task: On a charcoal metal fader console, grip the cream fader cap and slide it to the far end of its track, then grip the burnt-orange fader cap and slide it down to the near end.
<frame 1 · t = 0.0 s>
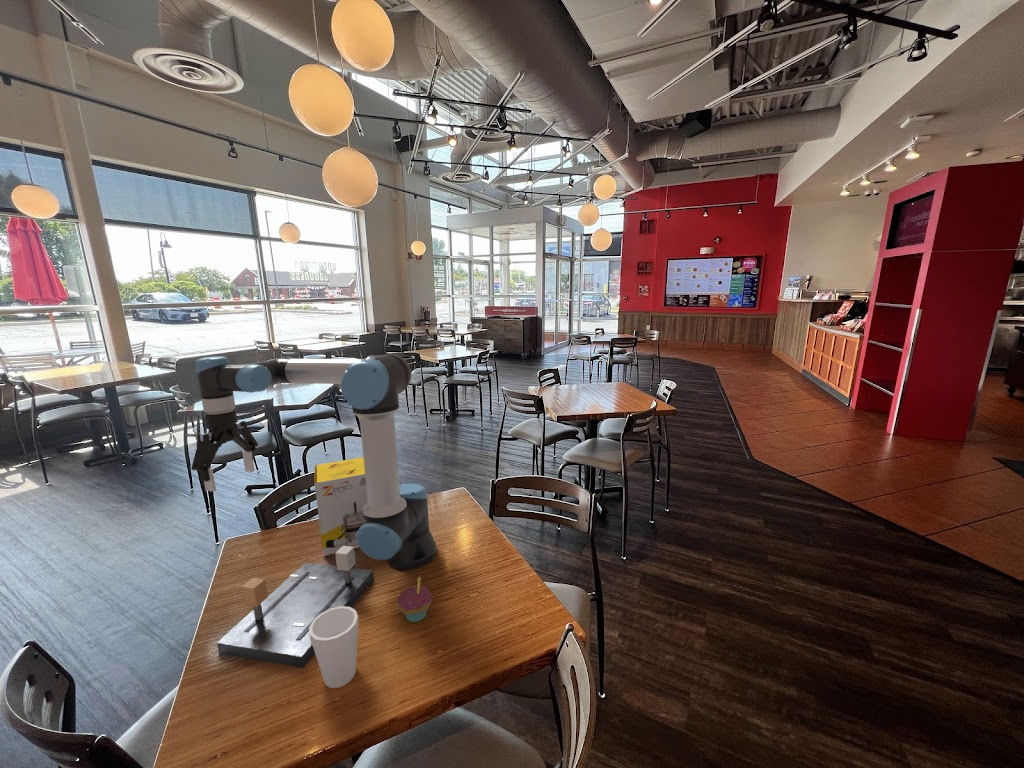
hand: (231, 480, 122), 28 cm above the table, tool pointing down, fingers open, 13 cm apart
packaging box: (349, 538, 142), on the table
fader console: (305, 612, 107), on the table
foam cup: (340, 675, 89), on the table
fader orange: (256, 600, 100), point 8 cm above the table, slide at 18.0 cm
cupcake: (416, 616, 106), on the table
fader cream: (346, 565, 113), point 8 cm above the table, slide at 2.0 cm
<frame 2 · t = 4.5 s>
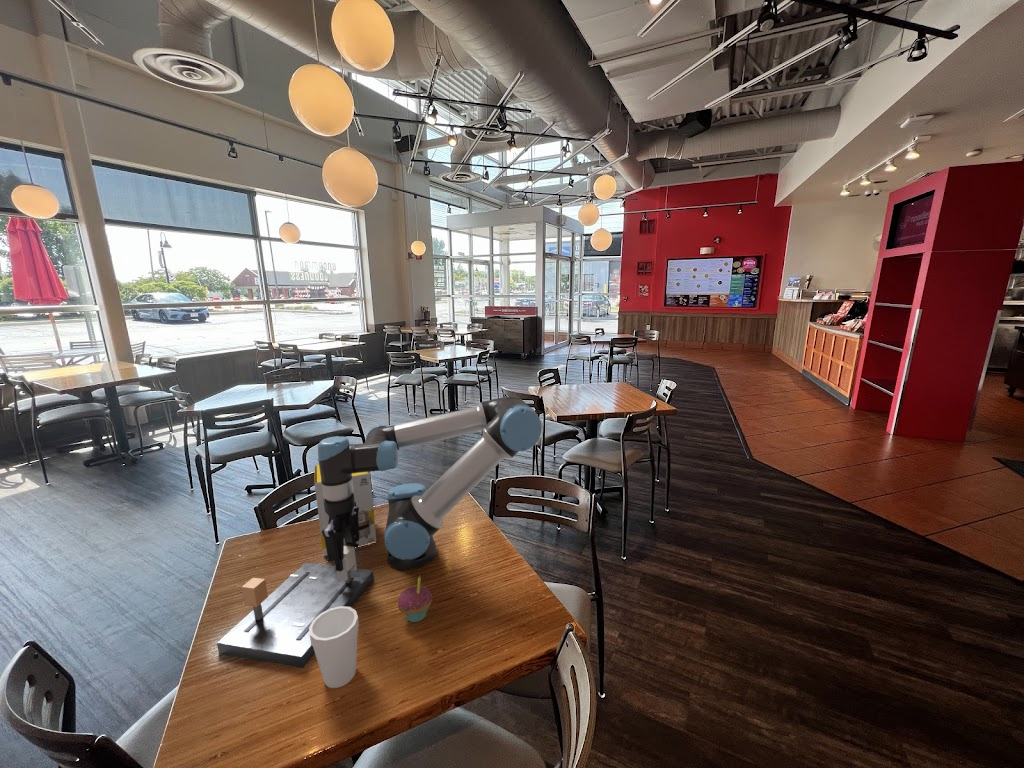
hand: (347, 574, 114), 6 cm above the table, tool pointing down, fingers closed on fader cream, 3 cm apart
fader cream: (346, 565, 113), point 8 cm above the table, slide at 2.0 cm, touching gripper
everything else where it was.
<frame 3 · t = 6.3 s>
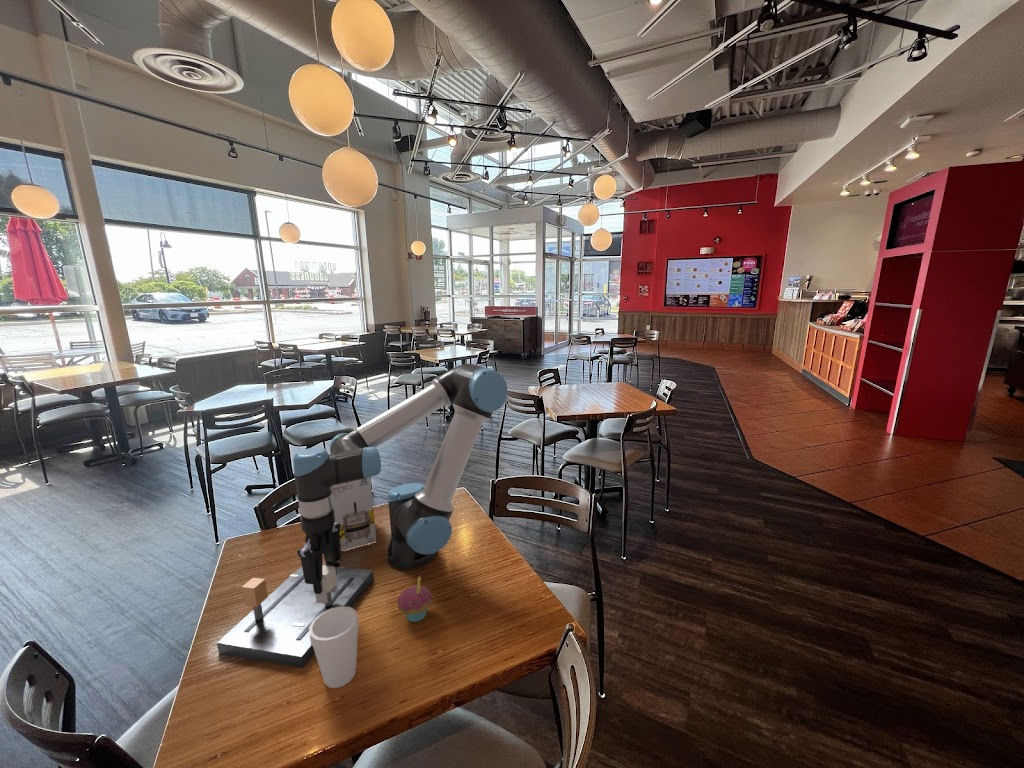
hand: (327, 596, 105), 6 cm above the table, tool pointing down, fingers closed on fader cream, 3 cm apart
fader cream: (326, 587, 105), point 8 cm above the table, slide at 10.8 cm, touching gripper
everything else where it was.
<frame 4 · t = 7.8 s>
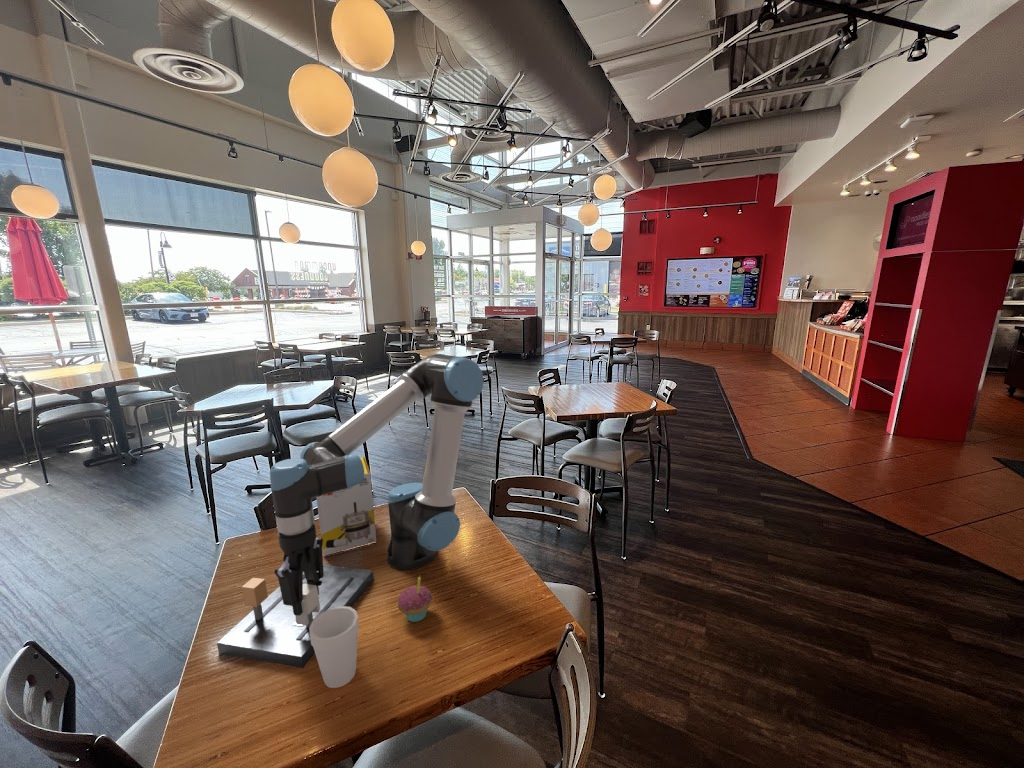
hand: (308, 616, 98), 6 cm above the table, tool pointing down, fingers closed on fader cream, 3 cm apart
fader cream: (307, 607, 98), point 8 cm above the table, slide at 17.9 cm, touching gripper
everything else where it was.
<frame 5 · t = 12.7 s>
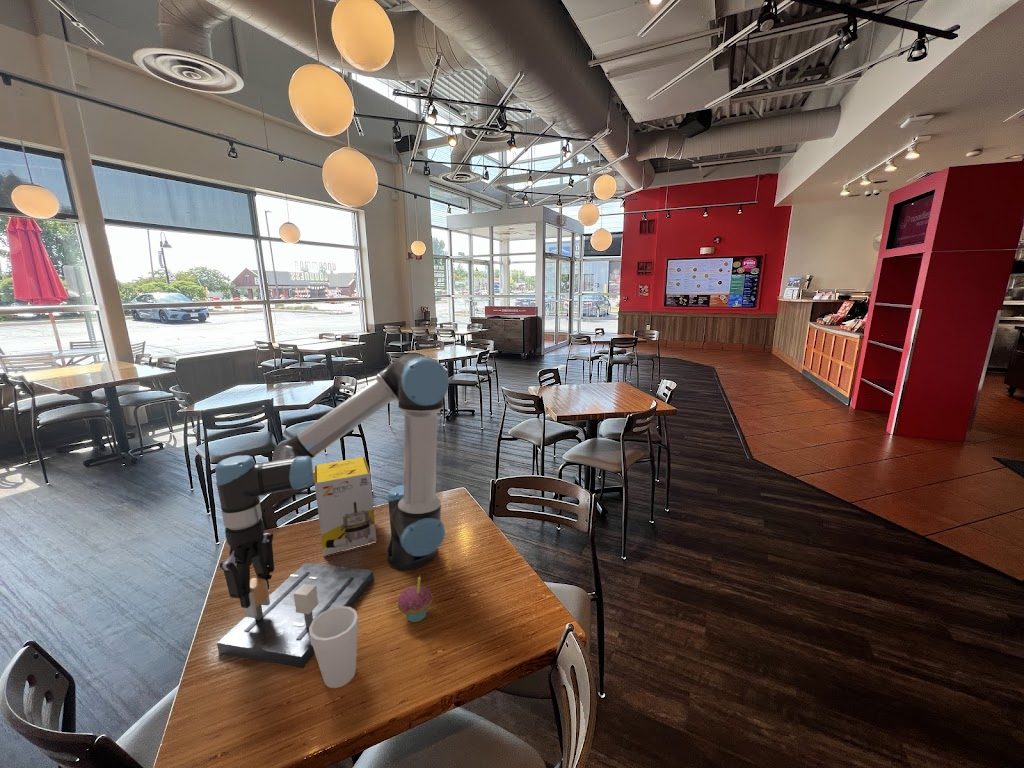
hand: (257, 609, 101), 6 cm above the table, tool pointing down, fingers closed on fader orange, 3 cm apart
fader orange: (256, 600, 100), point 8 cm above the table, slide at 18.0 cm, touching gripper
fader cream: (307, 607, 98), point 8 cm above the table, slide at 18.0 cm
everything else where it was.
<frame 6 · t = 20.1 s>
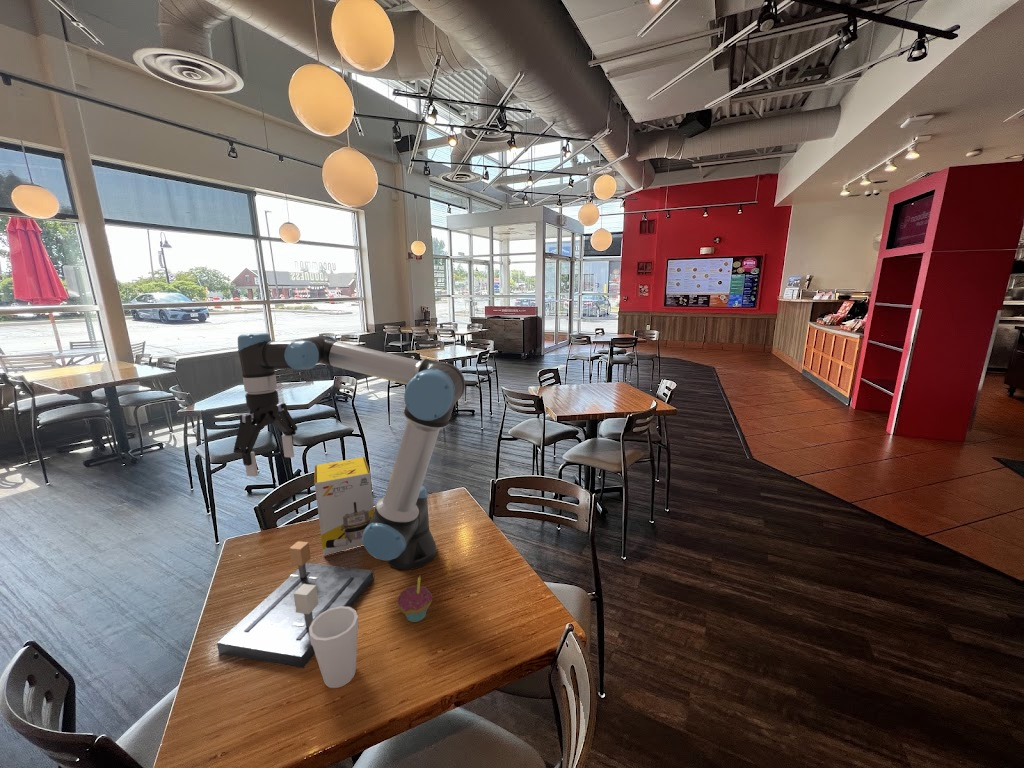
hand: (272, 465, 115), 35 cm above the table, tool pointing down, fingers open, 13 cm apart
fader orange: (301, 560, 116), point 8 cm above the table, slide at 2.1 cm
everything else where it was.
at the end: fader cream slide at 18.0 cm; fader orange slide at 2.1 cm; the gripper is holding nothing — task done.
